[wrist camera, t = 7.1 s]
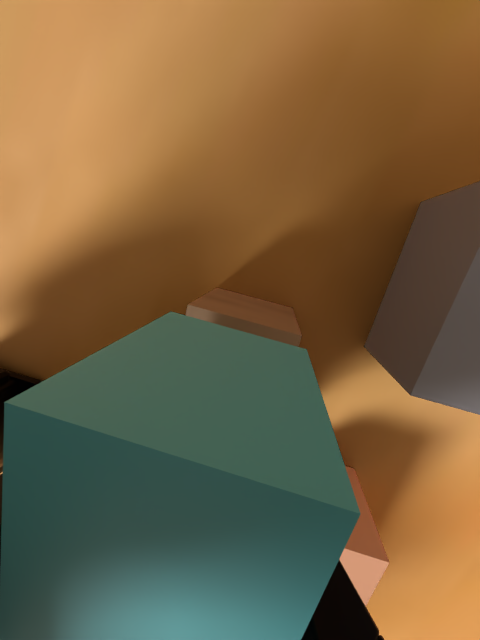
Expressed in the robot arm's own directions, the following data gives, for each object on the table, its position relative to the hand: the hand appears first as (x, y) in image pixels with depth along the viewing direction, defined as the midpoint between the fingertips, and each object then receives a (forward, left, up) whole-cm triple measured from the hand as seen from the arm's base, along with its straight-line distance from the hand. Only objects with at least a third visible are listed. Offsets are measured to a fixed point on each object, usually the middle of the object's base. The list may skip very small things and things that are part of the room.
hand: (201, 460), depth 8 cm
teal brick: (0, 0, -1) cm, 1 cm away
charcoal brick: (+6, -8, -8) cm, 13 cm away
